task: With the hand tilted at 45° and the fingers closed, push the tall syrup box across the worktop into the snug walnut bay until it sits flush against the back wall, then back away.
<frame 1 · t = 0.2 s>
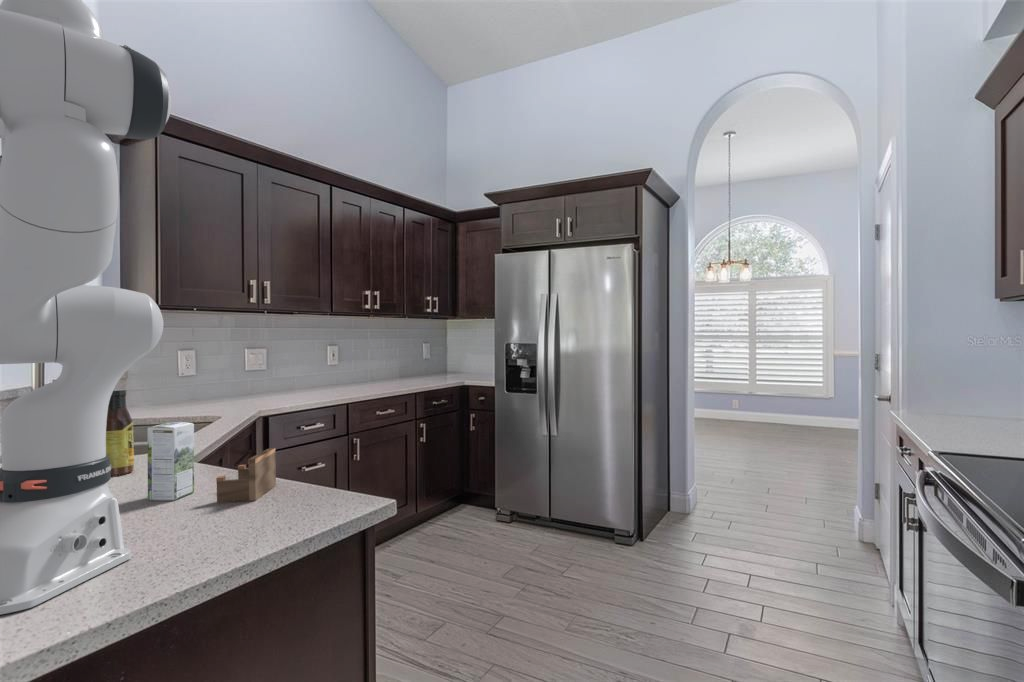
hand: (36, 236, 101), 51 cm above the countertop, tool tilted 20°, fingers open, 8 cm apart
walnut bay: (244, 493, 107), on the countertop
sauce bottle: (118, 474, 126), on the countertop
syrup box: (172, 497, 106), on the countertop
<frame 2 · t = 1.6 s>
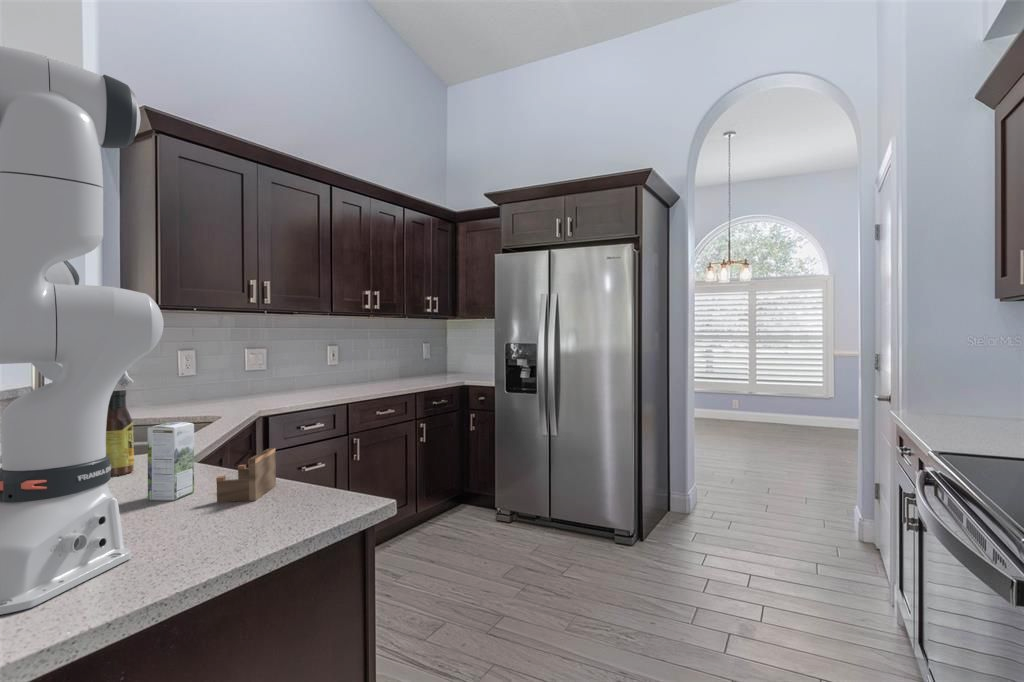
hand: (113, 387, 105), 22 cm above the countertop, tool tilted 45°, fingers open, 8 cm apart
nothing on the countertop moved.
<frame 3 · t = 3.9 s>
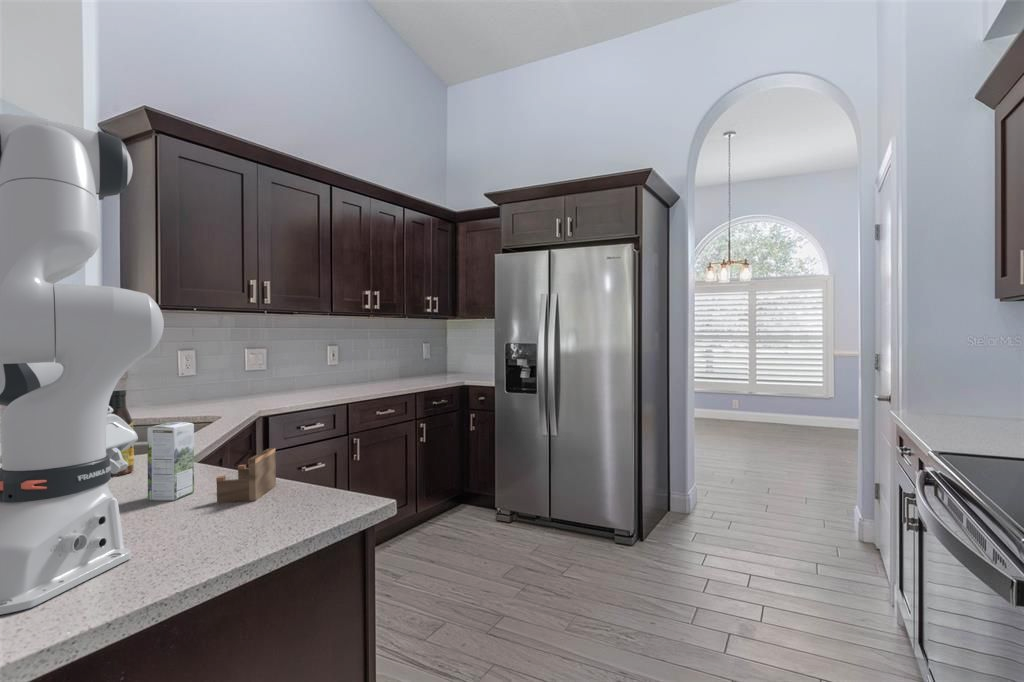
hand: (121, 469, 105), 6 cm above the countertop, tool tilted 45°, fingers closed
nothing on the countertop moved.
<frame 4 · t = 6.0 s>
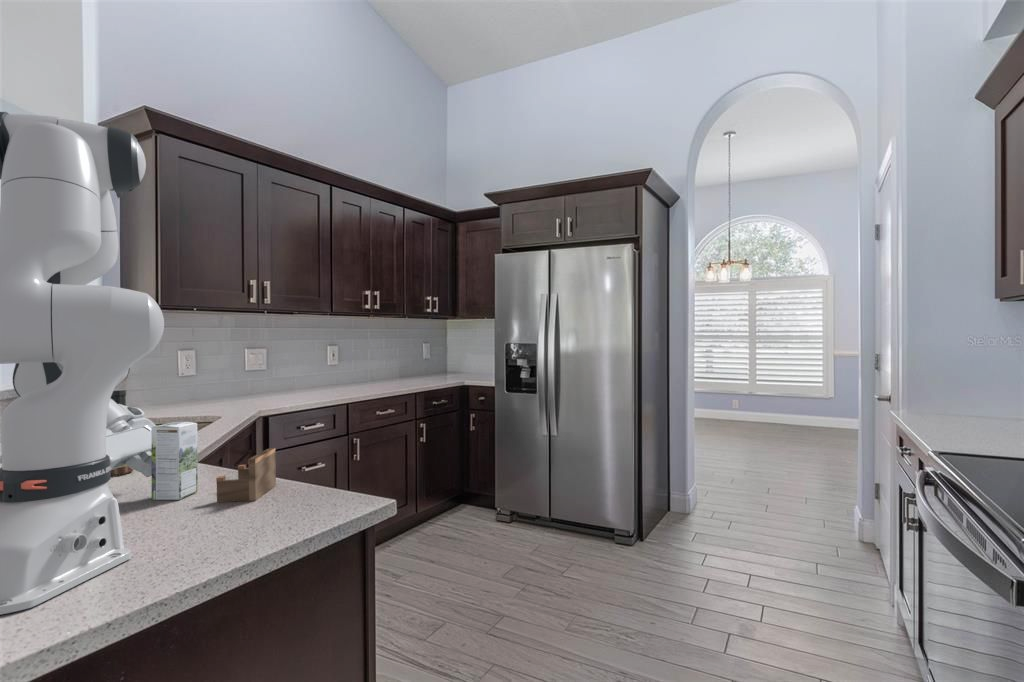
hand: (155, 473, 106), 5 cm above the countertop, tool tilted 45°, fingers closed
syrup box: (175, 497, 106), on the countertop, touching gripper
everything else where it was.
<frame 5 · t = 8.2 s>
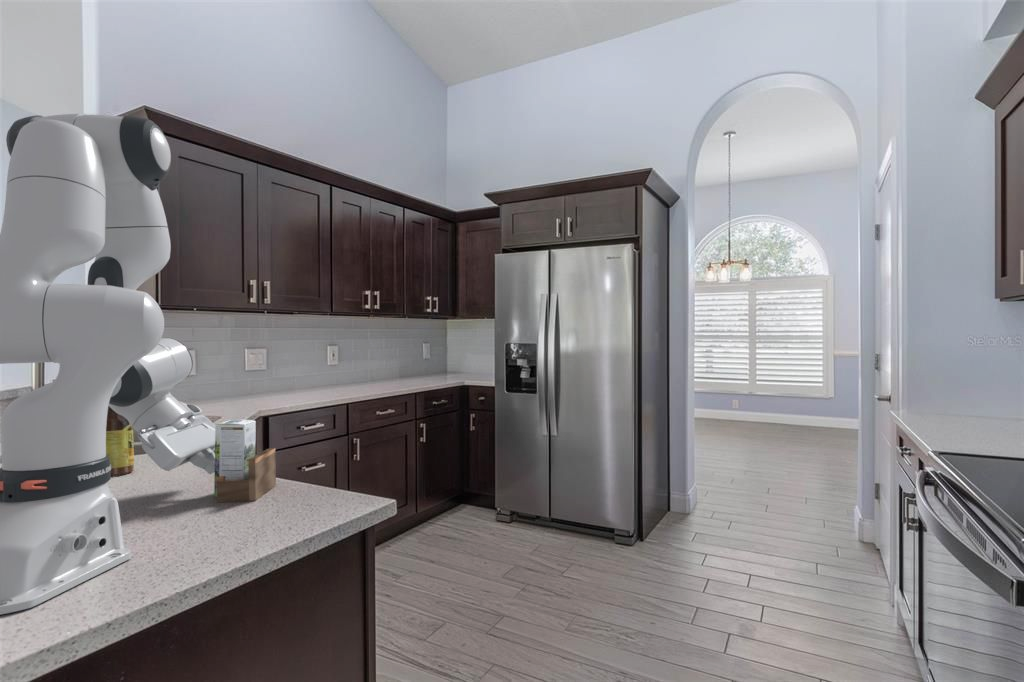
hand: (216, 470, 107), 5 cm above the countertop, tool tilted 45°, fingers closed, pressing on syrup box
syrup box: (235, 494, 107), on the countertop, touching gripper
everything else where it was.
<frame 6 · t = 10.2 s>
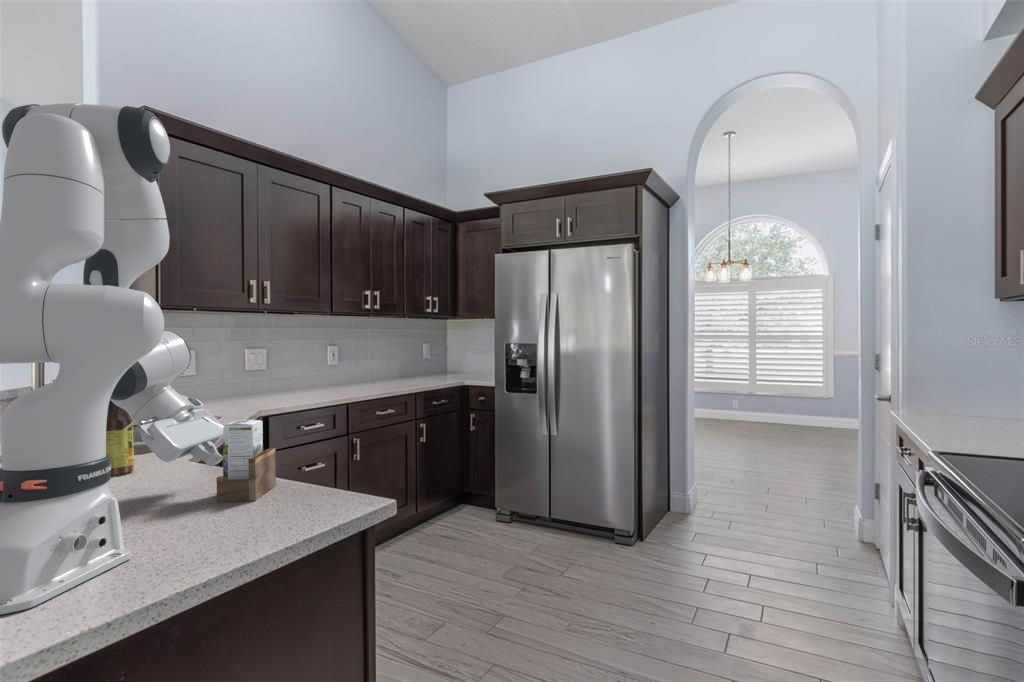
hand: (217, 462, 106), 7 cm above the countertop, tool tilted 45°, fingers closed
syrup box: (244, 494, 107), on the countertop
everything else where it was.
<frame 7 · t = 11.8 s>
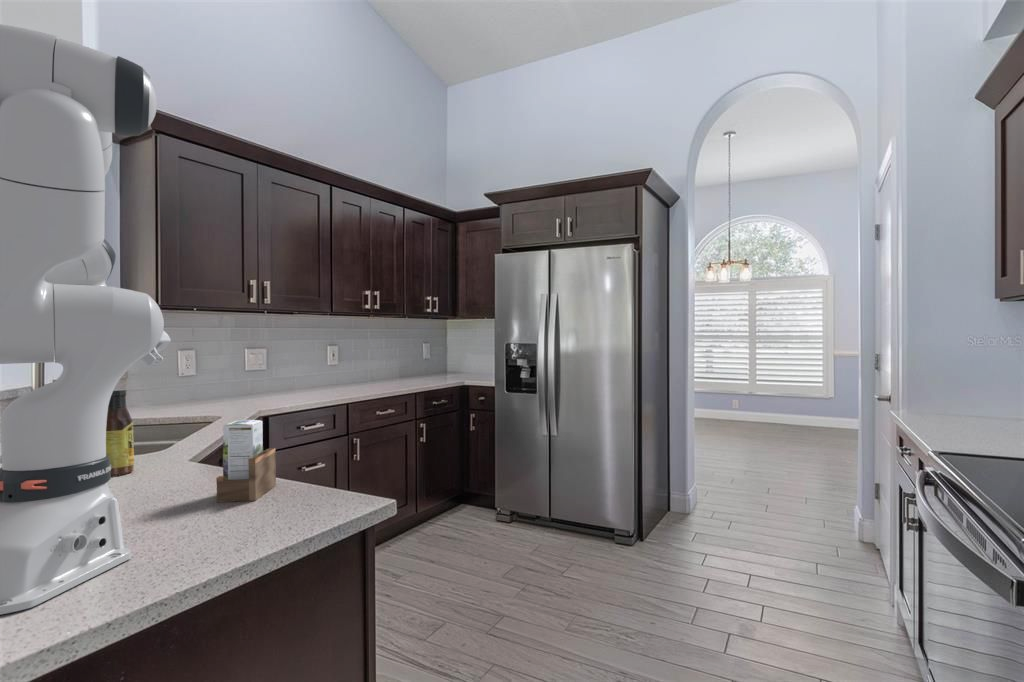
hand: (156, 362, 106), 27 cm above the countertop, tool tilted 45°, fingers closed
nothing on the countertop moved.
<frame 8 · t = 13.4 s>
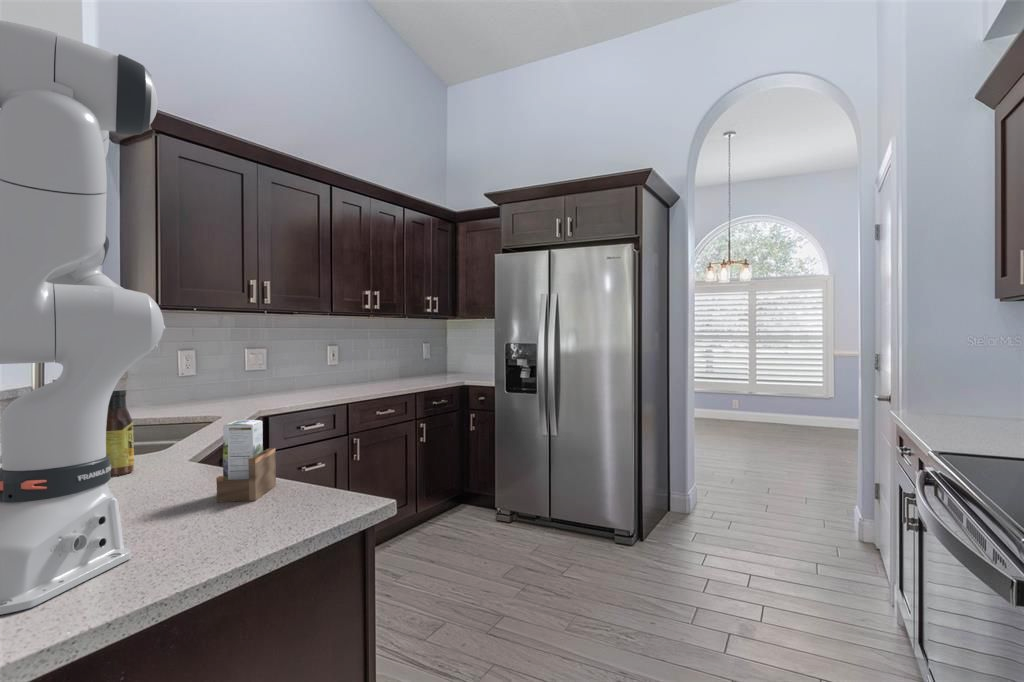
hand: (151, 349, 106), 29 cm above the countertop, tool tilted 45°, fingers closed
nothing on the countertop moved.
at the end: syrup box 0.6 cm off-centre on the walnut bay, point 0.0 cm above the walnut bay's base; syrup box tilted 0°; syrup box moved 13.7 cm from its start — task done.
